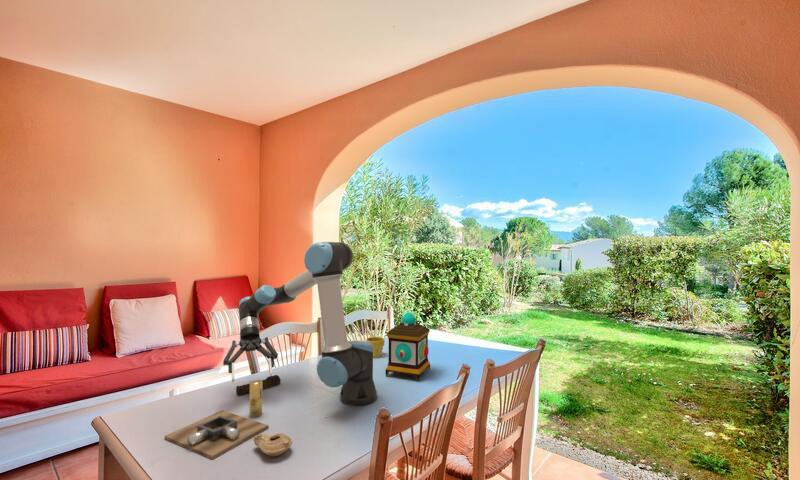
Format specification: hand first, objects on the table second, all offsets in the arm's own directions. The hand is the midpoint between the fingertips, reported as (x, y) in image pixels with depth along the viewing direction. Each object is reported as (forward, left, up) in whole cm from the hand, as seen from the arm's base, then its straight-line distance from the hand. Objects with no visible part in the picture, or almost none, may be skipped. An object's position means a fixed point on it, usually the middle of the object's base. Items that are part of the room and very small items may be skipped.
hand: (252, 377), depth 143 cm
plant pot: (-7, -79, -12) cm, 80 cm away
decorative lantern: (-36, -63, -12) cm, 74 cm away
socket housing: (-10, +22, -11) cm, 27 cm away
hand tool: (+12, -14, -12) cm, 22 cm away
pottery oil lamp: (-30, +18, -12) cm, 37 cm away
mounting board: (-6, +19, -12) cm, 23 cm away
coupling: (-6, +3, -12) cm, 14 cm away
